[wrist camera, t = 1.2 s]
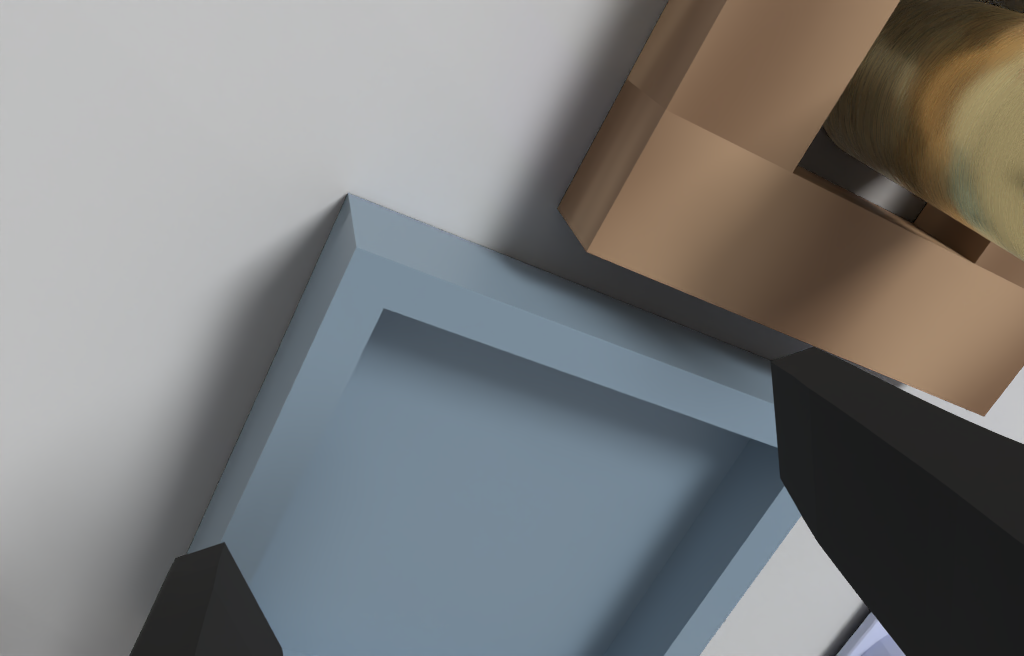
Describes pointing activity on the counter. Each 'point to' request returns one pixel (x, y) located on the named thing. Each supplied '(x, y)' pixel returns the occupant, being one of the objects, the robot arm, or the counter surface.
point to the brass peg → (944, 112)
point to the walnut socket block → (789, 201)
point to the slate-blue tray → (494, 462)
